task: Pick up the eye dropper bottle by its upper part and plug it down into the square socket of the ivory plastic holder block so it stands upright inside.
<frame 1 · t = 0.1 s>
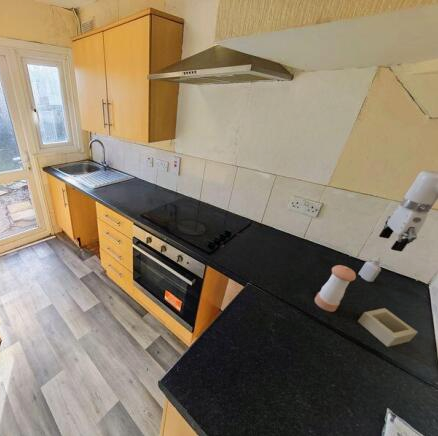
hand: (389, 243, 91), 22 cm above the table, tool pointing down, fingers open, 9 cm apart
salt shaker: (324, 304, 91), on the table
socket block: (382, 331, 81), on the table
eye dropper bottle: (364, 278, 105), on the table
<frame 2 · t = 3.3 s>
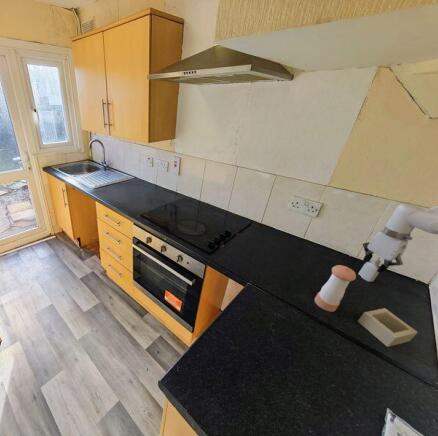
hand: (372, 266, 102), 7 cm above the table, tool pointing down, fingers closed on eye dropper bottle, 5 cm apart
eye dropper bottle: (364, 278, 105), on the table, touching gripper
everything else where it was.
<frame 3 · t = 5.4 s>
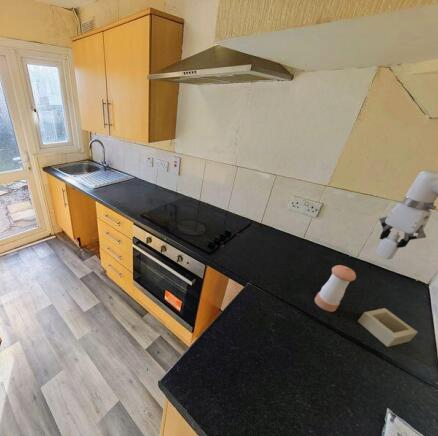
hand: (391, 242, 95), 21 cm above the table, tool pointing down, fingers closed on eye dropper bottle, 5 cm apart
eye dropper bottle: (382, 256, 98), point 14 cm above the table, touching gripper
everything else where it was.
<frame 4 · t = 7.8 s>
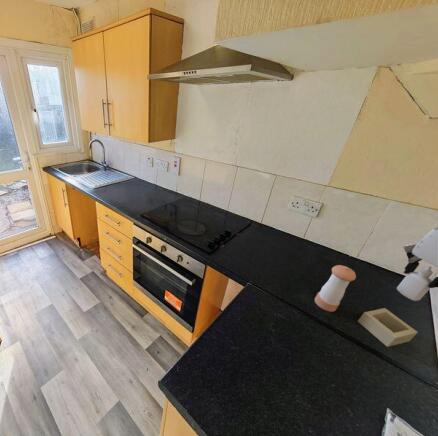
hand: (419, 279, 72), 23 cm above the table, tool pointing down, fingers closed on eye dropper bottle, 5 cm apart
eye dropper bottle: (406, 295, 75), point 16 cm above the table, touching gripper
everything else where it was.
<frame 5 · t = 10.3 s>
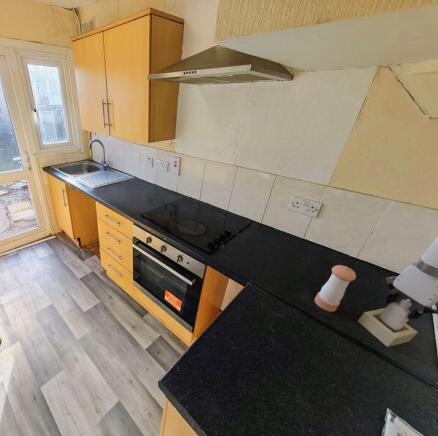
hand: (400, 309, 76), 11 cm above the table, tool pointing down, fingers closed on eye dropper bottle, 5 cm apart
eye dropper bottle: (388, 323, 79), point 4 cm above the table, touching gripper
everything else where it was.
when the fingers open (7 cm above the table, at t = 12.1 s): eye dropper bottle stays where it is, resting in socket block.
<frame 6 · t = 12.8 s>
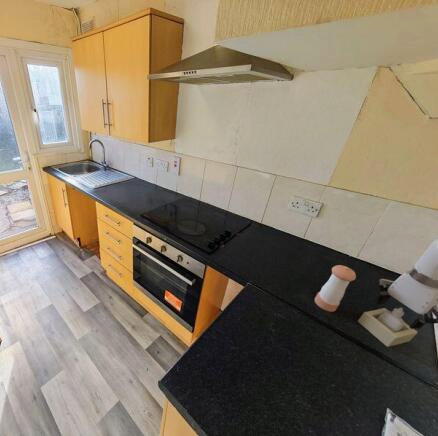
hand: (396, 314, 77), 9 cm above the table, tool pointing down, fingers open, 9 cm apart
eye dropper bottle: (382, 331, 81), resting in socket block
everything else where it was.
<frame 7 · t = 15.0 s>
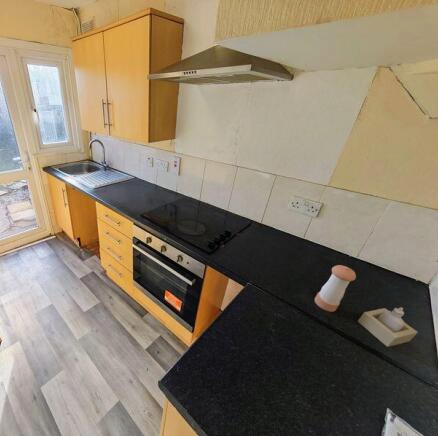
nothing on the table moved.
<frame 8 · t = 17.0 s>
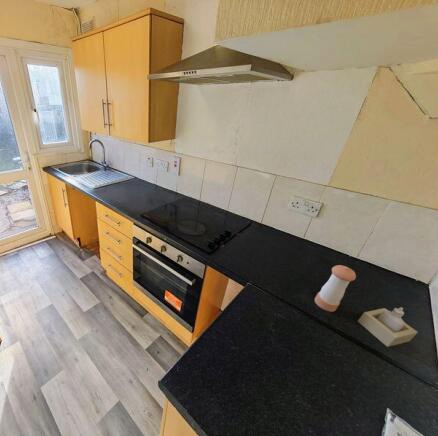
nothing on the table moved.
at the end: eye dropper bottle 0.0 cm off-centre in the socket block, point 0.0 cm above the socket block's base; eye dropper bottle tilted 0°; the gripper is holding nothing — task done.
